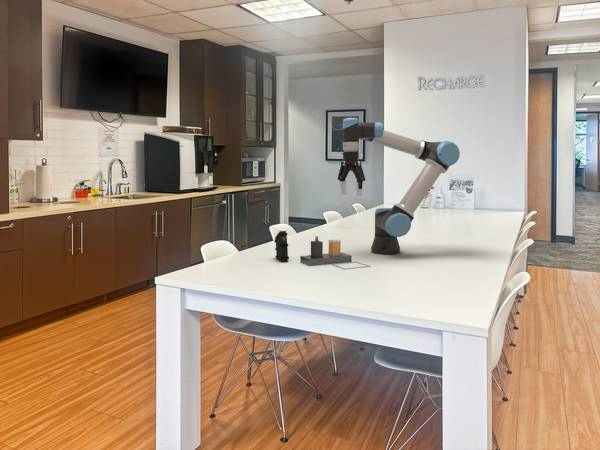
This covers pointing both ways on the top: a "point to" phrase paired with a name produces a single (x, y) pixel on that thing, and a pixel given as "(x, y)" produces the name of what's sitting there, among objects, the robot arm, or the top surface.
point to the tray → (350, 268)
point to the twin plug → (316, 248)
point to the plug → (334, 247)
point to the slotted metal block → (325, 259)
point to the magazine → (281, 246)
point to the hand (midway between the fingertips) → (351, 195)
